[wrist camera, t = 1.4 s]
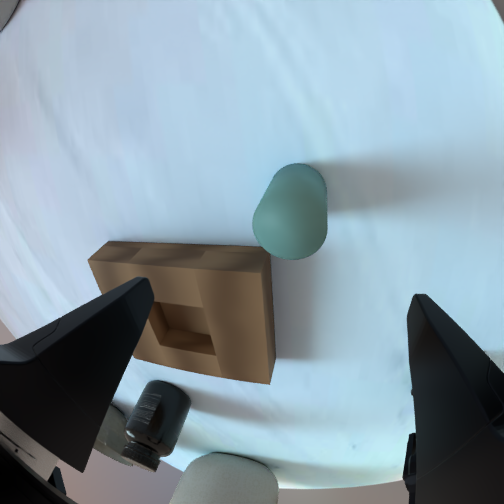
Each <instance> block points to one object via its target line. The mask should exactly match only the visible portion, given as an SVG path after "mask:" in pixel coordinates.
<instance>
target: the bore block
mask: <svg viewBox="0 0 504 504" xmlns="http://www.w3.org/2000/svg"><path fill="white" fill-rule="evenodd" d="M88 263H89V265H90V268H91V270H92V272H93V275H94V277H95V280H96V282H97V284H98V287H99V289H100V291H101V293H102V295H103V294H105V293H106V292H108V291H110V290H112V289H114V288H116V287H118V286H120V285H122V284H124V283H126V282H127V281H129V280H131V279H133V278H135V277H138V276H140V277H147V278H148V279H149V281H150V284H151V287H152V290H153V292H154V296H155V299H154V303H153V306H152V308H151V311H150V314H149V316H148V319H147V322H146V325H145V327H144V330H143V333H142V335H141V337H140V340H139V342H138V344H137V346H136V348H135V350H134V352H133V354H132V355H133V356H134V358H136V359H139V360H143V361H147V362H151V363H155V364H159V365H163V366H167V367H171V368H176V369H180V370H185V371H189V372H194V373H199V374H204V375H210V376H215V377H221V378H227V379H233V380H239V381H246V382H253V383H261V384H269V385H270V382H271V378H272V373H273V369H274V364H275V360H276V353H275V333H274V314H273V296H272V279H271V262H270V253H269V252H267V251H266V250H265V249H264V248H263V247H253V246H227V245H200V244H172V243H144V242H113V241H108V242H107V243H106V244H104V245H103V246H102V247H101V248H100V249H99V250H98V251H97V252H96V253H94V254H93V255H92V256H91V257H90V258H89V259H88Z"/></svg>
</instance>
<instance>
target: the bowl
mask: <svg viewBox="0 0 504 504" xmlns="http://www.w3.org/2000/svg"><path fill="white" fill-rule="evenodd" d="M127 422H128V421H127V419H126V418H125V417H124V415H123V414H122V413H121V412H120V411H119V410H118V409H116V408H115V407H114V406H112V405H111V404H110V406H109V409H108V411H107V413H106V416H105V418H104V421H103V423H102V425H101V427H100V431H99V433H98V436H97V438H96V441H95V444H94V446H93V448H94V449H96V450H97V451H99V452H101V453H103V454H104V455H106V456H108V457H110V458H112V459H114V460H116V461H119V462H120V463H123V464H125V465H128V466H133V464H132V463H130V462H128V461H126V460H125V459H123V458H122V457H121V456H120V455H121V453H122V451H123V449H124V445H127V444H128V441H127V440H126V438H125V436H124V428H125V426H126V424H127Z"/></svg>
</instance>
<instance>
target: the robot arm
mask: <svg viewBox="0 0 504 504" xmlns="http://www.w3.org/2000/svg"><path fill="white" fill-rule="evenodd" d="M154 299H155V296H154V292H153V290H152V287H151V284H150V281H149V279H148V278H147V277H140V276H138V277H135V278H133V279H131V280H129V281H127V282H126V283H124V284H122V285H120V286H118V287H116V288H114V289H112V290H110V291H108V292H106V293H105V294H103V295H101V296H99V297H97V298H95V299H93V300H91V301H90V302H88V303H86V304H84V305H82V306H80V307H78V308H77V309H75V310H73V311H71V312H69V313H67V314H66V315H64V316H62V317H60V318H58V319H56V320H55V321H53V322H51V323H49V324H47V325H45V326H43V327H41V328H39V329H37V330H35V331H33V332H31V333H29V334H27V335H25V336H23V337H21V338H19V339H17V340H15V341H13V342H10V343H8V344H4V345H0V504H77V503H76V502H74V501H73V500H72V499H70V498H68V497H67V496H66V490H65V487H64V483H63V479H62V475H61V471H60V468H58V467H57V466H56V464H57V462H58V461H59V459H61V460H62V461H64V462H66V463H67V464H69V465H70V466H72V467H73V468H75V469H76V470H78V471H80V472H81V473H83V472H84V470H85V467H86V465H87V462H88V459H89V456H90V454H91V451H92V448H93V446H94V444H95V441H96V438H97V436H98V433H99V431H100V427H101V425H102V423H103V421H104V418H105V416H106V413H107V411H108V409H109V406H110V404H111V401H112V399H113V397H114V394H115V392H116V390H117V388H118V385H119V383H120V381H121V379H122V376H123V374H124V372H125V370H126V367H127V365H128V363H129V361H130V359H131V357H132V354H133V352H134V350H135V348H136V346H137V344H138V342H139V340H140V337H141V335H142V333H143V330H144V327H145V325H146V322H147V319H148V316H149V314H150V311H151V308H152V306H153V303H154ZM407 330H408V349H409V365H410V373H411V381H412V390H411V395H412V396H413V400H414V411H415V426H416V433H412V434H409V440H408V443H407V451H406V458H405V464H404V470H403V480H404V481H405V485H406V488H407V490H408V491H409V504H504V373H503V372H502V371H501V370H500V369H499V368H498V367H497V366H496V364H495V363H494V362H493V361H492V360H490V358H489V357H488V356H487V355H486V353H485V352H484V351H483V350H482V349H481V348H480V347H479V346H478V345H477V344H476V343H475V342H474V341H473V340H472V339H471V338H470V337H469V335H468V334H467V333H466V332H465V331H464V330H463V329H462V328H461V327H460V326H459V325H458V324H457V323H456V322H455V321H454V320H453V319H452V318H451V317H450V316H449V315H448V314H447V313H446V312H445V311H443V310H442V309H441V308H440V307H439V306H438V305H437V304H436V303H435V302H434V301H433V300H432V299H431V298H430V297H429V296H428V295H426V294H415V295H414V296H413V298H412V301H411V304H410V307H409V310H408V314H407Z"/></svg>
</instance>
